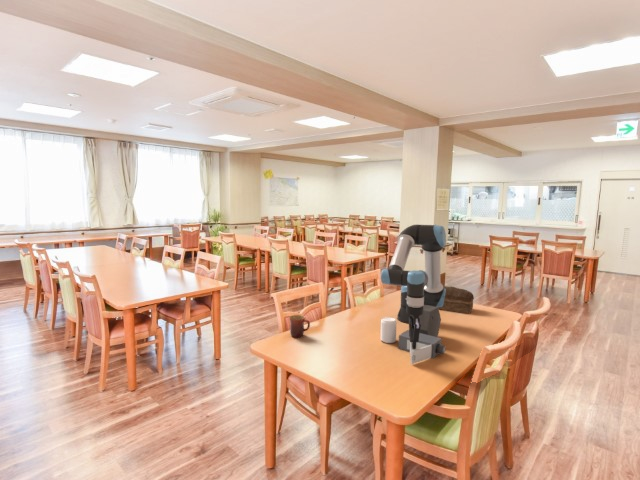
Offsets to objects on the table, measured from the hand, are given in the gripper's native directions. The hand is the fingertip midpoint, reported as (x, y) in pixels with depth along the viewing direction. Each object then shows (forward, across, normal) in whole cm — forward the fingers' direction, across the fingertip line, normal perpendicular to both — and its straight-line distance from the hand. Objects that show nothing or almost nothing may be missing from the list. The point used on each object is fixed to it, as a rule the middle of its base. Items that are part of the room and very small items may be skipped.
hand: (413, 354), depth 166 cm
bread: (+6, -86, +47) cm, 98 cm away
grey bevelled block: (+5, -29, +15) cm, 33 cm away
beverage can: (+4, -25, -7) cm, 27 cm away
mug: (+4, -31, -55) cm, 63 cm away
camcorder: (+4, -12, +8) cm, 15 cm away
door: (+3, 0, +4) cm, 5 cm away
